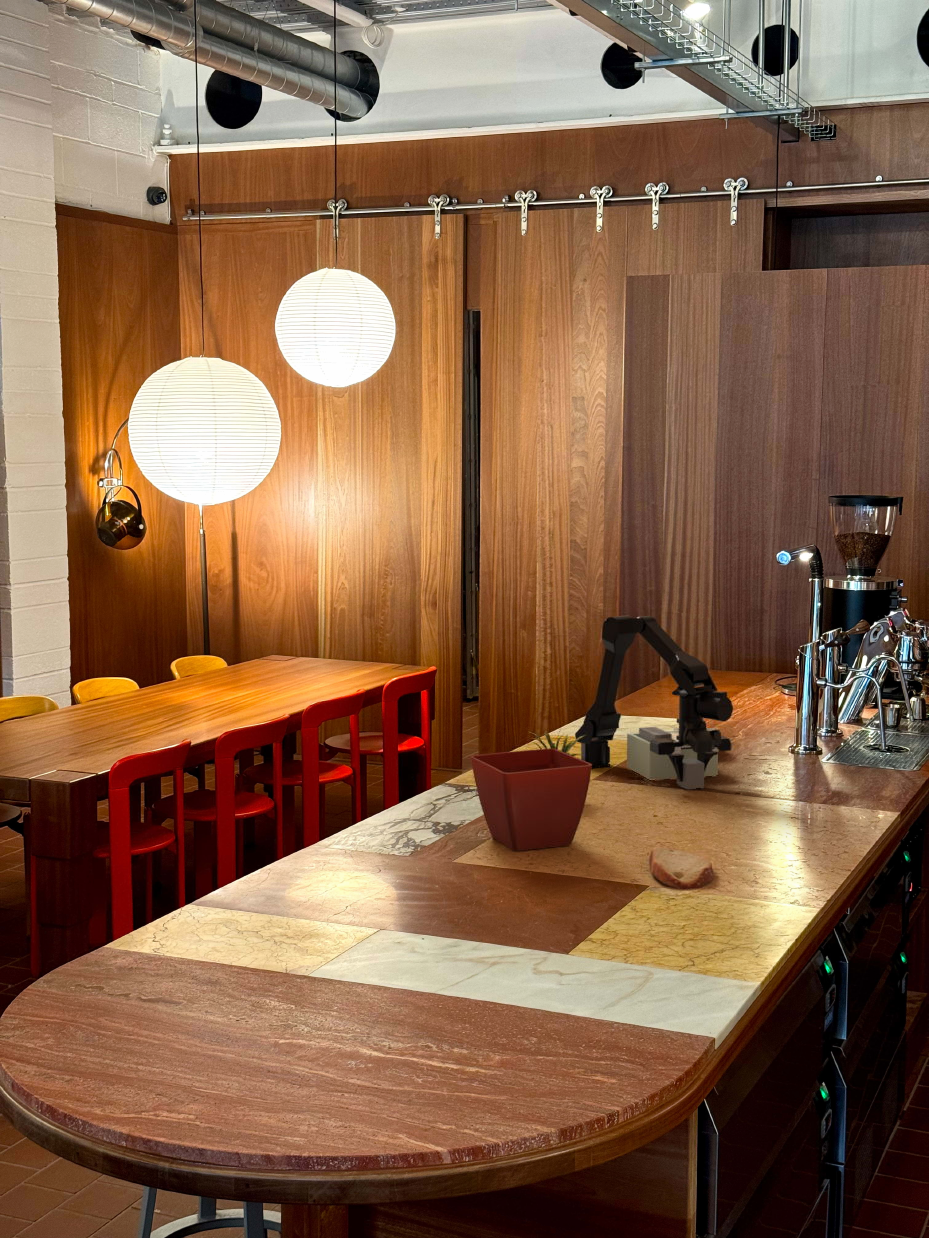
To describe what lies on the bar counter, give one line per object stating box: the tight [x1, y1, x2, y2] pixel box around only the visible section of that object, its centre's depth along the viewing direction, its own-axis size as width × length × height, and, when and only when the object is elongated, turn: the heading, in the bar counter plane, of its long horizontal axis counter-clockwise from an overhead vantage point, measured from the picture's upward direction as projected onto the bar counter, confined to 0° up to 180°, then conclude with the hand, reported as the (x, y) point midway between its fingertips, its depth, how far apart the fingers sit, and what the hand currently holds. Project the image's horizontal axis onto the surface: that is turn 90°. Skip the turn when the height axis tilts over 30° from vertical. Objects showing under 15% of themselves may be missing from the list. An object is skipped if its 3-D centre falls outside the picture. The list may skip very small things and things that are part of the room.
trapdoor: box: [638, 726, 679, 743], centre depth 335 cm, size 16×12×4 cm
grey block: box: [676, 759, 705, 790], centre depth 320 cm, size 4×6×6 cm
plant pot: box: [470, 747, 593, 852], centre depth 273 cm, size 19×19×17 cm
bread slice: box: [648, 846, 715, 890], centre depth 252 cm, size 18×18×4 cm
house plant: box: [529, 728, 585, 757], centre depth 310 cm, size 14×14×16 cm
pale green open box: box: [626, 730, 719, 781], centre depth 335 cm, size 18×16×9 cm
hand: (690, 780), depth 320 cm, fingers closed on grey block, 4 cm apart
